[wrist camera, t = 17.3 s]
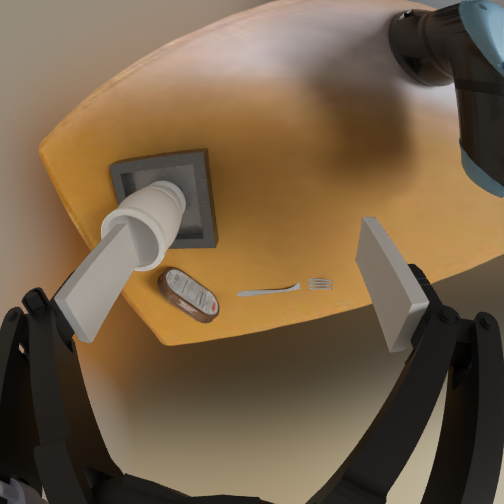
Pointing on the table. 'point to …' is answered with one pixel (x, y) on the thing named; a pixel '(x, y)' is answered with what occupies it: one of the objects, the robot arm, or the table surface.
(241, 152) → the table surface
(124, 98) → the table surface
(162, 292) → the tin
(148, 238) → the jar
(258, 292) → the fork
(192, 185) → the dark grey square tray
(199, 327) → the table surface
